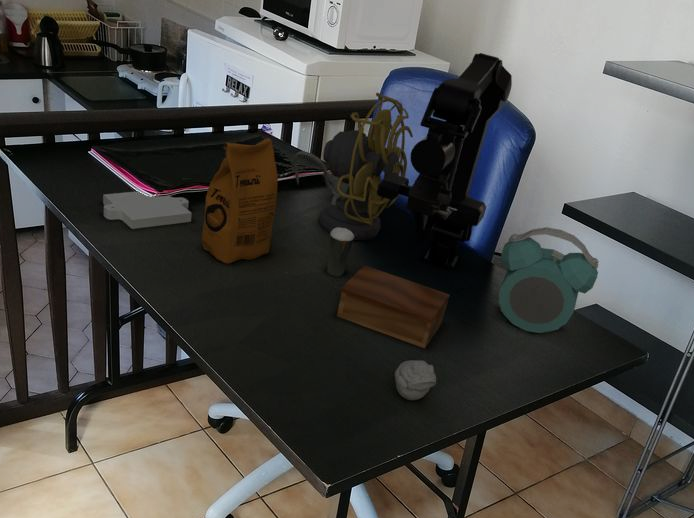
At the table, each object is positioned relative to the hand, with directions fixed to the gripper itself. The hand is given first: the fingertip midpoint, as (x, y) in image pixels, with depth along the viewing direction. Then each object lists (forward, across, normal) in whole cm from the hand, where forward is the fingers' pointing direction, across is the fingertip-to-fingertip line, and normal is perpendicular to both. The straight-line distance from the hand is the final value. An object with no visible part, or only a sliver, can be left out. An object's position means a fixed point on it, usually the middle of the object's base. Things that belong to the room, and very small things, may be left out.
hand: (420, 243), depth 137 cm
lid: (+7, 0, -10) cm, 12 cm away
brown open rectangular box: (+12, 0, -9) cm, 15 cm away
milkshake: (+12, -15, +1) cm, 20 cm away
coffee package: (+12, -35, -4) cm, 37 cm away
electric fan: (+13, -29, +26) cm, 41 cm away
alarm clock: (+12, +22, +8) cm, 27 cm away
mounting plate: (+12, -57, -1) cm, 58 cm away
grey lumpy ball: (+12, +11, -30) cm, 34 cm away
